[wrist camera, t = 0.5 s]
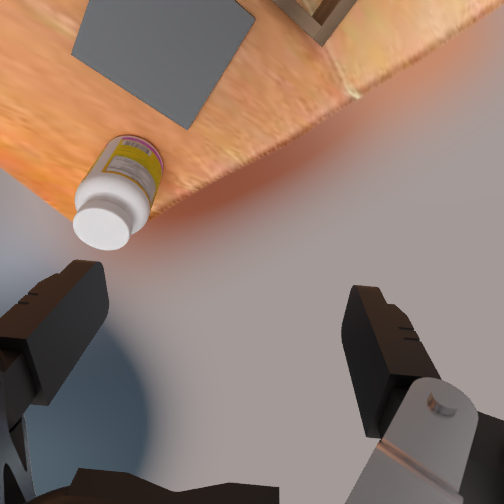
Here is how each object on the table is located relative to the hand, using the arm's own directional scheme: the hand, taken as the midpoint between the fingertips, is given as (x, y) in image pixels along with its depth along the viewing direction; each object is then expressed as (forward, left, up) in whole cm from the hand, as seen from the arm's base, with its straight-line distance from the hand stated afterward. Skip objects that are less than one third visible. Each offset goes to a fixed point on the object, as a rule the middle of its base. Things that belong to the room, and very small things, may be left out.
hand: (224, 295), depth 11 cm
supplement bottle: (-4, -15, -29) cm, 33 cm away
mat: (-7, -2, -29) cm, 30 cm away
